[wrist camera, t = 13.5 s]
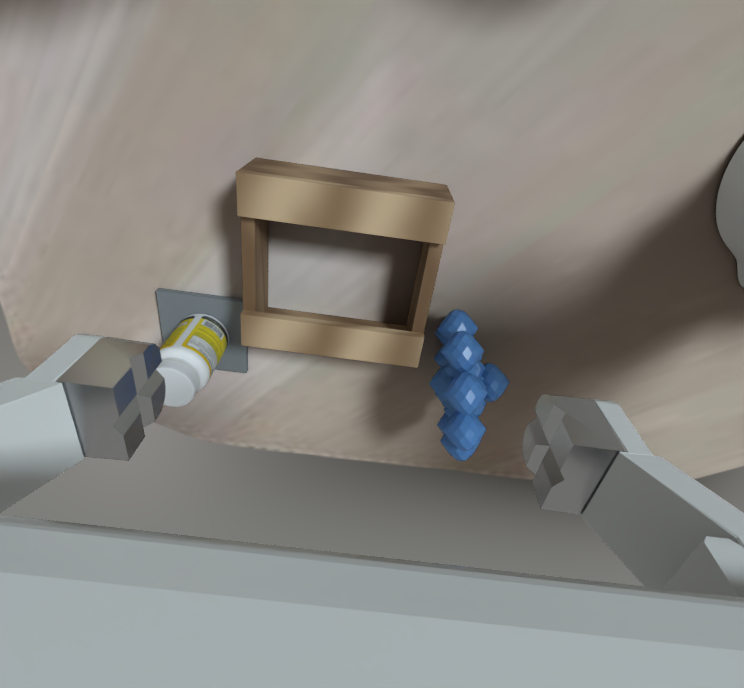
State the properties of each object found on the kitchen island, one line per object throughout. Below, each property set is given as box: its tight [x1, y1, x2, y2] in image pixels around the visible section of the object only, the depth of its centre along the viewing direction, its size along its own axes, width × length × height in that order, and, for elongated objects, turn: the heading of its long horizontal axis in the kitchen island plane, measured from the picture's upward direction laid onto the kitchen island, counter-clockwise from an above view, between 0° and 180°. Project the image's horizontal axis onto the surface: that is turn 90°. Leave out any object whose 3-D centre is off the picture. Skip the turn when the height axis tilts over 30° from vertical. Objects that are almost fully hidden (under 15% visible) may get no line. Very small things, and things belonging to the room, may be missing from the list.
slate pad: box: [156, 288, 248, 373], centre depth 43 cm, size 8×8×1 cm
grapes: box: [429, 309, 509, 461], centre depth 38 cm, size 12×7×12 cm, turn 3°
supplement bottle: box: [156, 314, 229, 407], centre depth 39 cm, size 5×5×8 cm
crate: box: [236, 158, 455, 368], centre depth 37 cm, size 15×14×5 cm
